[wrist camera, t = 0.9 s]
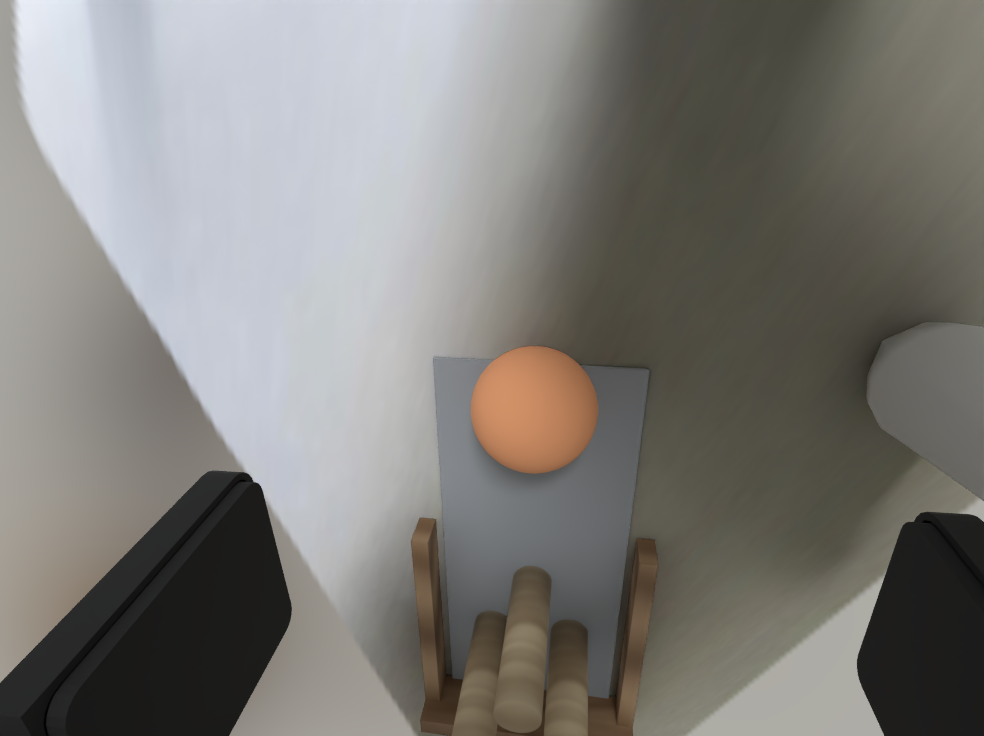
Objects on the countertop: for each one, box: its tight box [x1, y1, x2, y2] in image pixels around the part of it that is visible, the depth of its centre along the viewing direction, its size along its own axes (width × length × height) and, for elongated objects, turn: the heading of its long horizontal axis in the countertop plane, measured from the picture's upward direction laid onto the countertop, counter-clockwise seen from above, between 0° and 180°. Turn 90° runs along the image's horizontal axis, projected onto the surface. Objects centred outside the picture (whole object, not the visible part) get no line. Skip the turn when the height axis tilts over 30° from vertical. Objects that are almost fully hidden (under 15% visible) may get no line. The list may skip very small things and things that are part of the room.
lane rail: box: [411, 518, 658, 736], centre depth 37 cm, size 16×14×4 cm
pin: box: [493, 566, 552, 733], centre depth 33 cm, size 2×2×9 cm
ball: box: [471, 346, 598, 474], centre depth 28 cm, size 6×6×6 cm
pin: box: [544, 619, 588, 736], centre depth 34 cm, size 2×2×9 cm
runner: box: [433, 357, 650, 699], centre depth 36 cm, size 26×11×1 cm, turn 1°
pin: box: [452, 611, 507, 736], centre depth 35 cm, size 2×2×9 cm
